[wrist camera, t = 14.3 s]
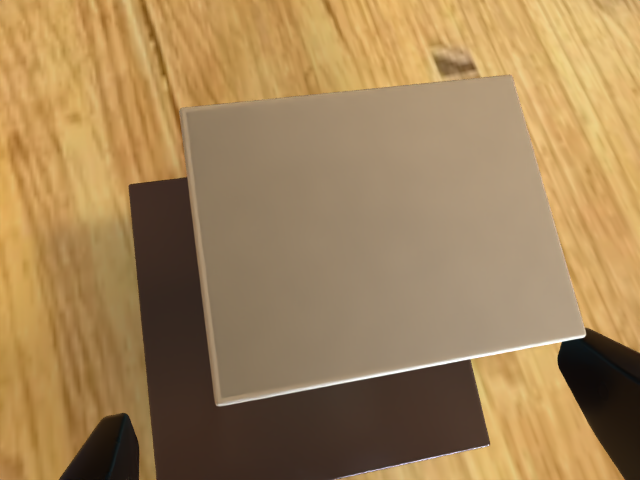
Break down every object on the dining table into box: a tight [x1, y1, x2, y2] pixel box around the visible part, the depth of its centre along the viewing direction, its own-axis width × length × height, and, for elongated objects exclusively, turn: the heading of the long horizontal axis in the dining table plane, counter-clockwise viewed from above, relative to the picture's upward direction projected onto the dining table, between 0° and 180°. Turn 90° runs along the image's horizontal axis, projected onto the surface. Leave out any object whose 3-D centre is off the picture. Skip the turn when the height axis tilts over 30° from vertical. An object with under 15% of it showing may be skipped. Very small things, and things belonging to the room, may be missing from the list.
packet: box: [179, 75, 586, 407], centre depth 13 cm, size 4×5×12 cm
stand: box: [129, 177, 490, 480], centre depth 21 cm, size 12×12×4 cm
